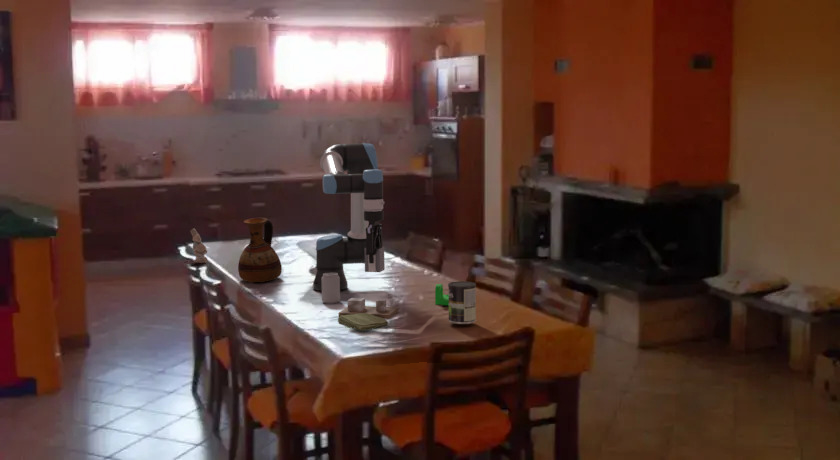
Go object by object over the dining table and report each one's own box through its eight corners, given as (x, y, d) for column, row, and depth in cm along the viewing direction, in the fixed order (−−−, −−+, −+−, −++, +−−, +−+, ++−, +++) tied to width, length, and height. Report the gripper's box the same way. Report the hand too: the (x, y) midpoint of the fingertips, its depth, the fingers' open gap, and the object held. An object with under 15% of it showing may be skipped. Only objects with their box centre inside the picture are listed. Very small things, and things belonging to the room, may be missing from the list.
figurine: (189, 266, 483) (188, 228, 481) (205, 264, 488) (203, 226, 486) (196, 268, 476) (194, 229, 474) (212, 266, 481) (210, 228, 479)
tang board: (338, 316, 358) (338, 302, 358) (349, 309, 372) (349, 295, 371) (388, 318, 354) (388, 304, 353) (398, 311, 367) (398, 297, 366)
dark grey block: (364, 271, 358) (364, 248, 357) (369, 269, 363) (369, 246, 362) (380, 272, 356) (379, 248, 355) (384, 269, 362) (384, 246, 361)
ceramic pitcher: (230, 283, 432) (227, 219, 428) (253, 276, 450) (251, 214, 447) (267, 286, 424) (265, 220, 421) (289, 278, 443) (287, 215, 439)
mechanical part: (449, 305, 378) (449, 285, 377) (435, 304, 379) (435, 285, 378) (455, 299, 389) (455, 280, 388) (441, 299, 391) (441, 280, 390)
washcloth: (360, 332, 334) (360, 323, 334) (335, 323, 349) (335, 315, 348) (391, 327, 342) (390, 318, 341) (365, 318, 356) (365, 310, 356)
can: (343, 300, 389) (342, 272, 387) (335, 304, 382) (335, 275, 380) (326, 300, 391) (325, 271, 390) (318, 303, 384) (318, 274, 382)
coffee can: (450, 324, 342) (449, 286, 341) (446, 318, 353) (446, 281, 351) (478, 323, 343) (477, 285, 342) (474, 317, 353) (473, 280, 352)
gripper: (375, 212, 347) (376, 274, 350) (390, 207, 365) (391, 266, 368) (356, 212, 349) (357, 273, 351) (371, 207, 367) (373, 266, 370)
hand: (374, 270), depth 360 cm, fingers closed on dark grey block, 6 cm apart
